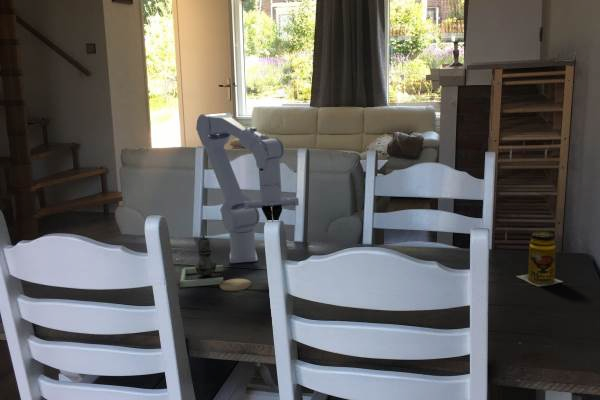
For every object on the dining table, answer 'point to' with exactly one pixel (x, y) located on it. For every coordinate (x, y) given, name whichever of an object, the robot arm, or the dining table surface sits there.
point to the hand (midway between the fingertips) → (273, 233)
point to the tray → (199, 281)
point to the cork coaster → (235, 284)
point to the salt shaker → (205, 260)
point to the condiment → (541, 260)
